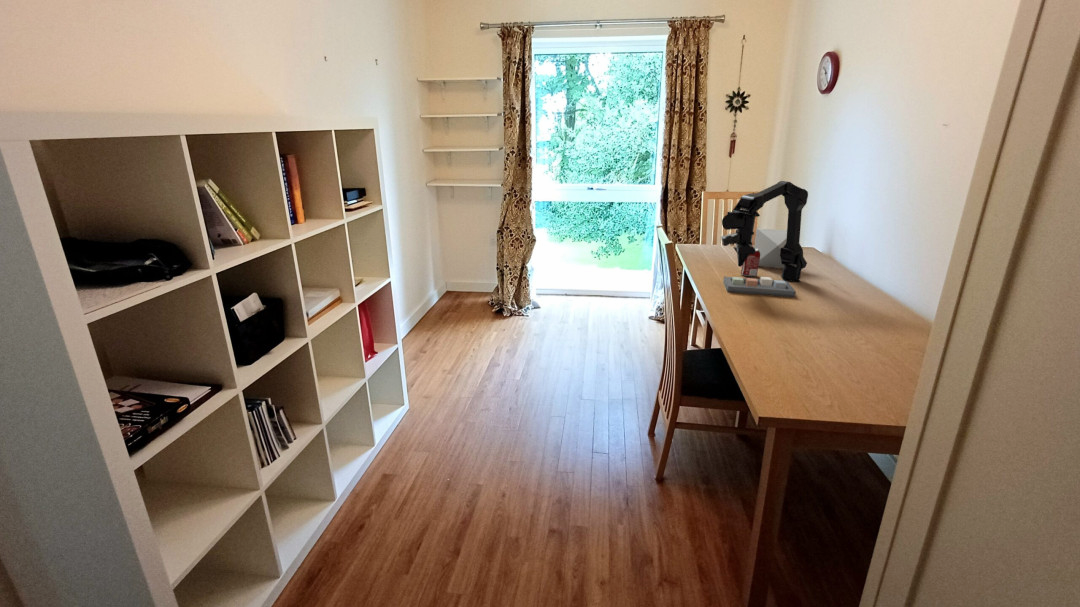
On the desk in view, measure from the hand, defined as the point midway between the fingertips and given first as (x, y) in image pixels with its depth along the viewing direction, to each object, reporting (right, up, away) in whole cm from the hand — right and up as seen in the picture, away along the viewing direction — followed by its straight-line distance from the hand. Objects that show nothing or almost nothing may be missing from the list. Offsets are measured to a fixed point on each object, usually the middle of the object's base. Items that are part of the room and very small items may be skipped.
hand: (739, 266), depth 206 cm
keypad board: (+8, -9, +2) cm, 12 cm away
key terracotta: (+5, -8, +2) cm, 10 cm away
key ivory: (+11, -7, 0) cm, 13 cm away
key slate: (+16, -9, 0) cm, 18 cm away
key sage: (0, -7, +3) cm, 8 cm away
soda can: (+12, -3, +21) cm, 25 cm away
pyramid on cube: (+29, +2, +37) cm, 47 cm away
